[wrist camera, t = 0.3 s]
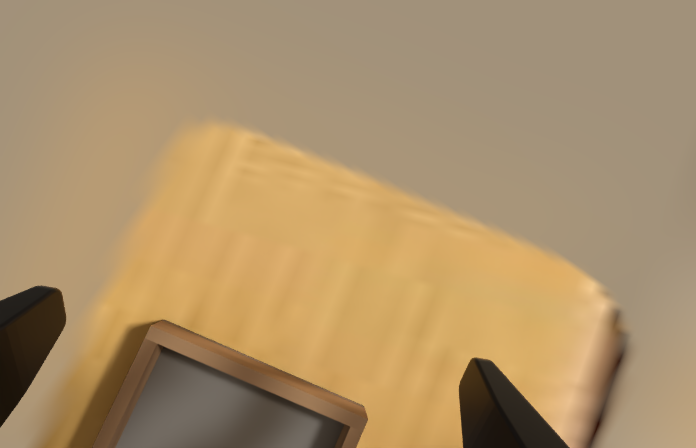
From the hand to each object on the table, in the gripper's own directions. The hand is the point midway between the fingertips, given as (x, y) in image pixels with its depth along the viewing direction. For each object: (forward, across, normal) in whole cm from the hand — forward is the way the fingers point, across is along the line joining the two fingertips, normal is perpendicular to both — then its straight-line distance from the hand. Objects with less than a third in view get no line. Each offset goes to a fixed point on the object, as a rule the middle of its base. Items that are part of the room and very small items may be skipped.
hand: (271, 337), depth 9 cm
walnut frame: (+7, +3, +17) cm, 19 cm away
